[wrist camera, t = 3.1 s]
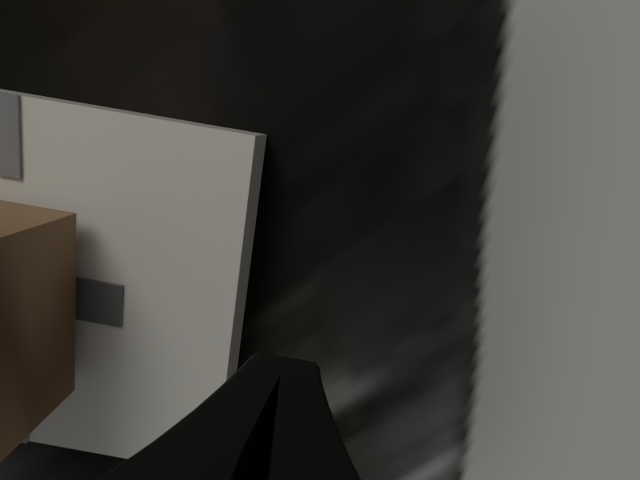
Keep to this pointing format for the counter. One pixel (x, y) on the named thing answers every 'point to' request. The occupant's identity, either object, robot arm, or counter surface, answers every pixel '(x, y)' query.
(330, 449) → the robot arm
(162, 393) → the fader console
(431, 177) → the counter surface
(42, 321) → the slider cap
